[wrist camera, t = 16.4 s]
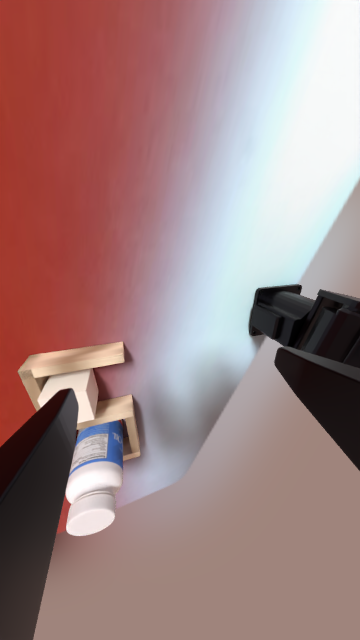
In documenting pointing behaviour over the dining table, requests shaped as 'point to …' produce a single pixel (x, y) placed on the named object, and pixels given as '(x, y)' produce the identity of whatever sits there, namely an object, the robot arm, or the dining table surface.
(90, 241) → the dining table surface
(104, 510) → the pill bottle
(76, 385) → the cream block
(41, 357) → the caddy
